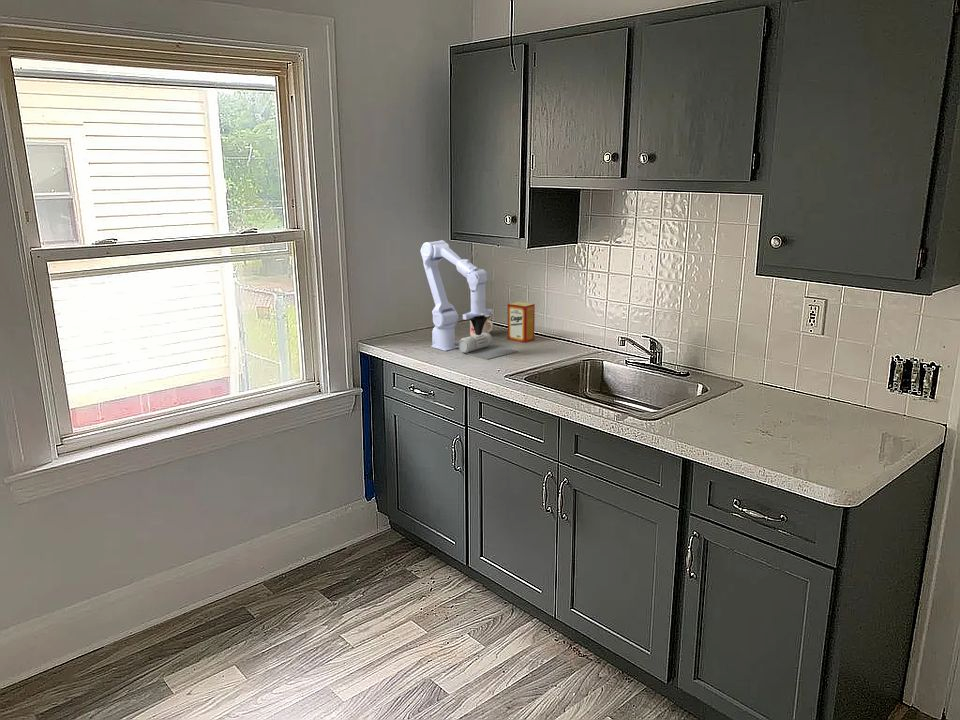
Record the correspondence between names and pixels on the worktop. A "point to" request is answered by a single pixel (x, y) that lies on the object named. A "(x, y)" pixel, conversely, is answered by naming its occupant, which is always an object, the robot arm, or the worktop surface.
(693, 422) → the worktop surface
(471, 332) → the teacup with lid
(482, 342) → the energy drink can
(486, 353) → the mat
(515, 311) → the baking soda box
